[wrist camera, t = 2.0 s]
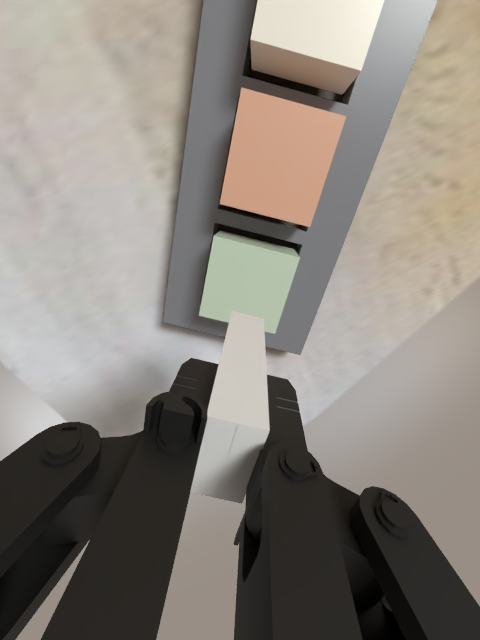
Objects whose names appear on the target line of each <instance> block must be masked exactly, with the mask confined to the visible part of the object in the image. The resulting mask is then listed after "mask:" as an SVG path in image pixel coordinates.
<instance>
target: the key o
mask: <svg viewBox="0 0 480 640" xmlns="http://www.w3.org/2000/svg"><path fill="white" fill-rule="evenodd" d="M299 259H300V257H299V255H298V254H297V253H296V251H295V250H294V249H292V248H288V247H284V246H280V245H276V244H272V243H268V242H264V241H260V240H256V239H252V238H248V237H244V236H241V235H237V234H233V233H229V232H225V231H221V230H220V231H219V232H218V233H216V234H215V235H214V237H213V242H212V247H211V253H210V258H209V263H208V269H207V274H206V280H205V285H204V290H203V296H202V301H201V306H200V312H199V316H203V317H207V318H211V319H215V320H219V321H223V322H228V323H229V320H230V316H231V312H232V311H235V312H239V313H243V314H247V315H251V316H255V317H259V318H264V331H265V332H269V333H273V334H275V333H276V330H277V326H278V323H279V320H280V317H281V314H282V311H283V308H284V305H285V302H286V299H287V296H288V293H289V290H290V287H291V284H292V281H293V278H294V275H295V272H296V269H297V266H298V262H299Z"/></svg>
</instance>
